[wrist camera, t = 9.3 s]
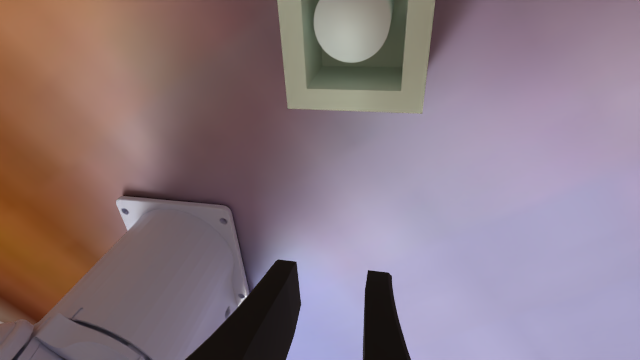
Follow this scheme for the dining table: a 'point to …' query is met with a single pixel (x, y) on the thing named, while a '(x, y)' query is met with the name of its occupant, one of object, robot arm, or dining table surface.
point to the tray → (360, 77)
